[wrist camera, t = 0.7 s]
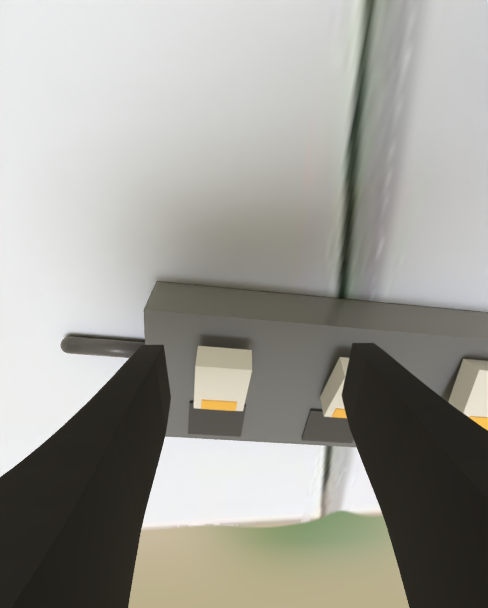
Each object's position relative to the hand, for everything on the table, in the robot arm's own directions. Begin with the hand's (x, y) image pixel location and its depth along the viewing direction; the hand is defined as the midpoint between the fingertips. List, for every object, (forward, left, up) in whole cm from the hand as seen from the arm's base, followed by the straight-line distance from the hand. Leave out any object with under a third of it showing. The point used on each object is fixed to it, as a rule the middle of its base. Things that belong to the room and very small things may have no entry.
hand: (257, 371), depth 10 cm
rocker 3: (-9, +11, -6) cm, 15 cm away
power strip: (0, +8, -9) cm, 12 cm away
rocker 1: (+3, +4, -6) cm, 8 cm away
